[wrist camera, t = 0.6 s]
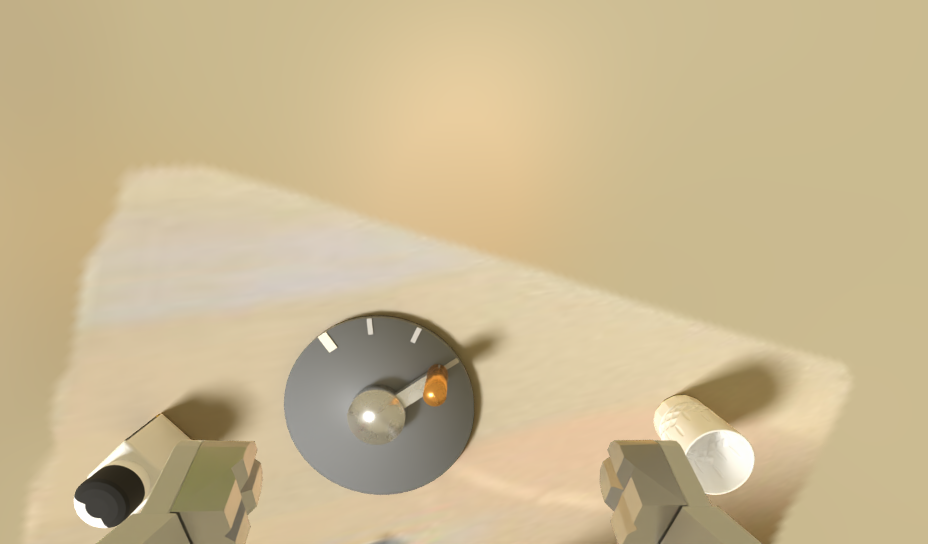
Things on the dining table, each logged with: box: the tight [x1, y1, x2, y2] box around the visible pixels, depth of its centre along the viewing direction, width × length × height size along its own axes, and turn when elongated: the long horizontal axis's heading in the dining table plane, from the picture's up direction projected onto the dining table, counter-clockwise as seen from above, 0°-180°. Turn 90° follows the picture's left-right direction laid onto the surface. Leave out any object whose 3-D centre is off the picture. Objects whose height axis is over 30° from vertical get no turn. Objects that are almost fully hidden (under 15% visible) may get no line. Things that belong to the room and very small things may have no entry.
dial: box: [347, 364, 449, 445], centre depth 58 cm, size 14×7×6 cm, turn 124°
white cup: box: [653, 395, 755, 495], centre depth 58 cm, size 8×8×10 cm
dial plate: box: [284, 316, 474, 495], centre depth 62 cm, size 24×24×1 cm
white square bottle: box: [74, 414, 191, 528], centre depth 58 cm, size 7×7×12 cm
